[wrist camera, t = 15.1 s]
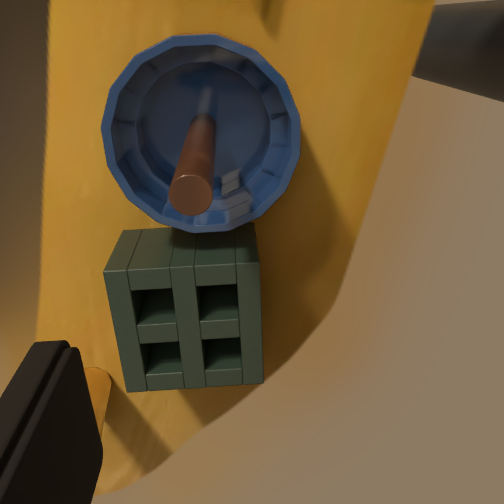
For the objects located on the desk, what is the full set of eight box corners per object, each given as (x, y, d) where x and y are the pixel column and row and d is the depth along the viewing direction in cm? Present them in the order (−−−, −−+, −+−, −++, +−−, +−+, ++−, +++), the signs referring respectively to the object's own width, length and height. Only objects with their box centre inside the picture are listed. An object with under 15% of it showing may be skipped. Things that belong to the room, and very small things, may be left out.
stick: (215, 112, 34) (211, 173, 20) (217, 139, 34) (214, 215, 21) (188, 114, 34) (166, 175, 20) (191, 141, 34) (171, 217, 21)
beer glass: (86, 411, 46) (52, 506, 37) (59, 369, 43) (16, 460, 34) (130, 398, 45) (107, 491, 36) (106, 355, 43) (75, 443, 34)
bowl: (289, 28, 32) (301, 30, 27) (289, 200, 37) (300, 227, 32) (106, 36, 32) (85, 39, 27) (133, 209, 37) (119, 237, 32)
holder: (253, 222, 38) (259, 262, 32) (258, 330, 43) (264, 383, 36) (122, 229, 38) (102, 271, 31) (140, 338, 42) (126, 393, 36)
